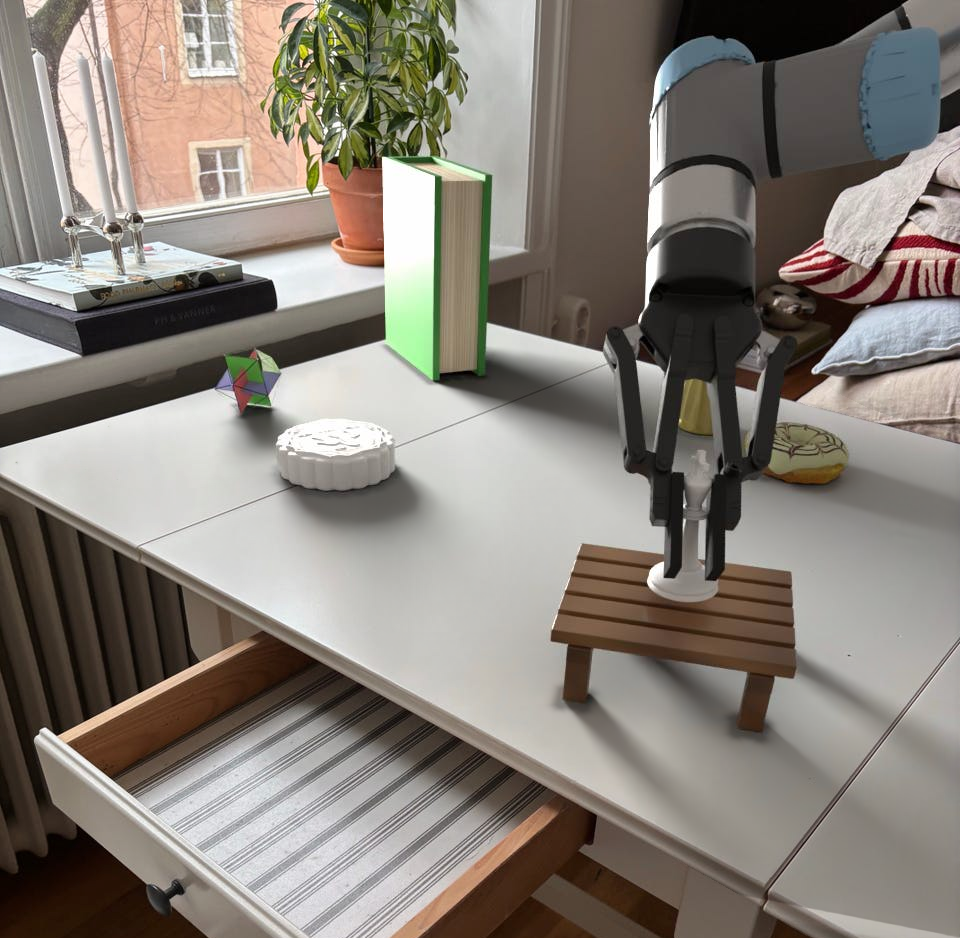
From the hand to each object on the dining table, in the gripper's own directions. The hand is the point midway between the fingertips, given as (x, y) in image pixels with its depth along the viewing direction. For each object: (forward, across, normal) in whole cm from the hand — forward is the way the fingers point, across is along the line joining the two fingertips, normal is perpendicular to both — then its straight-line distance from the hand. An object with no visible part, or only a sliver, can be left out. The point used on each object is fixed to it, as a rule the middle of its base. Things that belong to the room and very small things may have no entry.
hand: (693, 573), depth 65 cm
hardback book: (-47, +25, -61) cm, 81 cm away
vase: (-32, -9, -46) cm, 57 cm away
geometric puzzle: (-31, +44, -45) cm, 70 cm away
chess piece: (0, 0, -5) cm, 5 cm away
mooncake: (-19, +31, -33) cm, 49 cm away
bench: (+4, 0, -10) cm, 10 cm away
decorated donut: (-24, -17, -38) cm, 48 cm away
